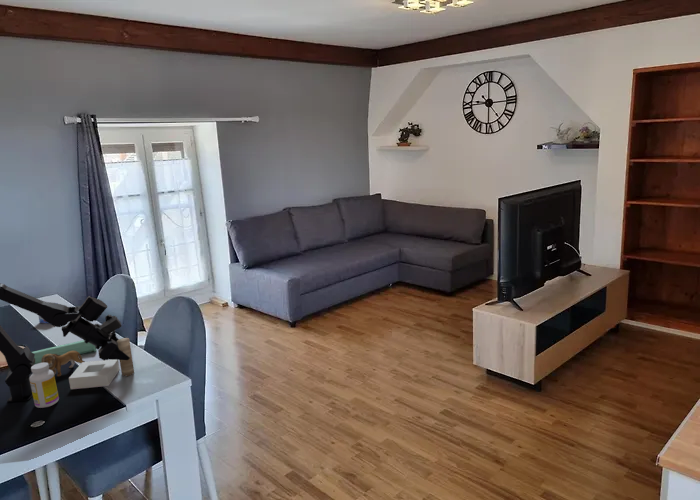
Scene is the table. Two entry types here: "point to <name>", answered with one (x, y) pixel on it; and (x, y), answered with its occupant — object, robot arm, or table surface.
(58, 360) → the lion figurine
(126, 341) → the peg
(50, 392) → the supplement bottle
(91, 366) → the socket
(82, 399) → the table surface
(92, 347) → the container
